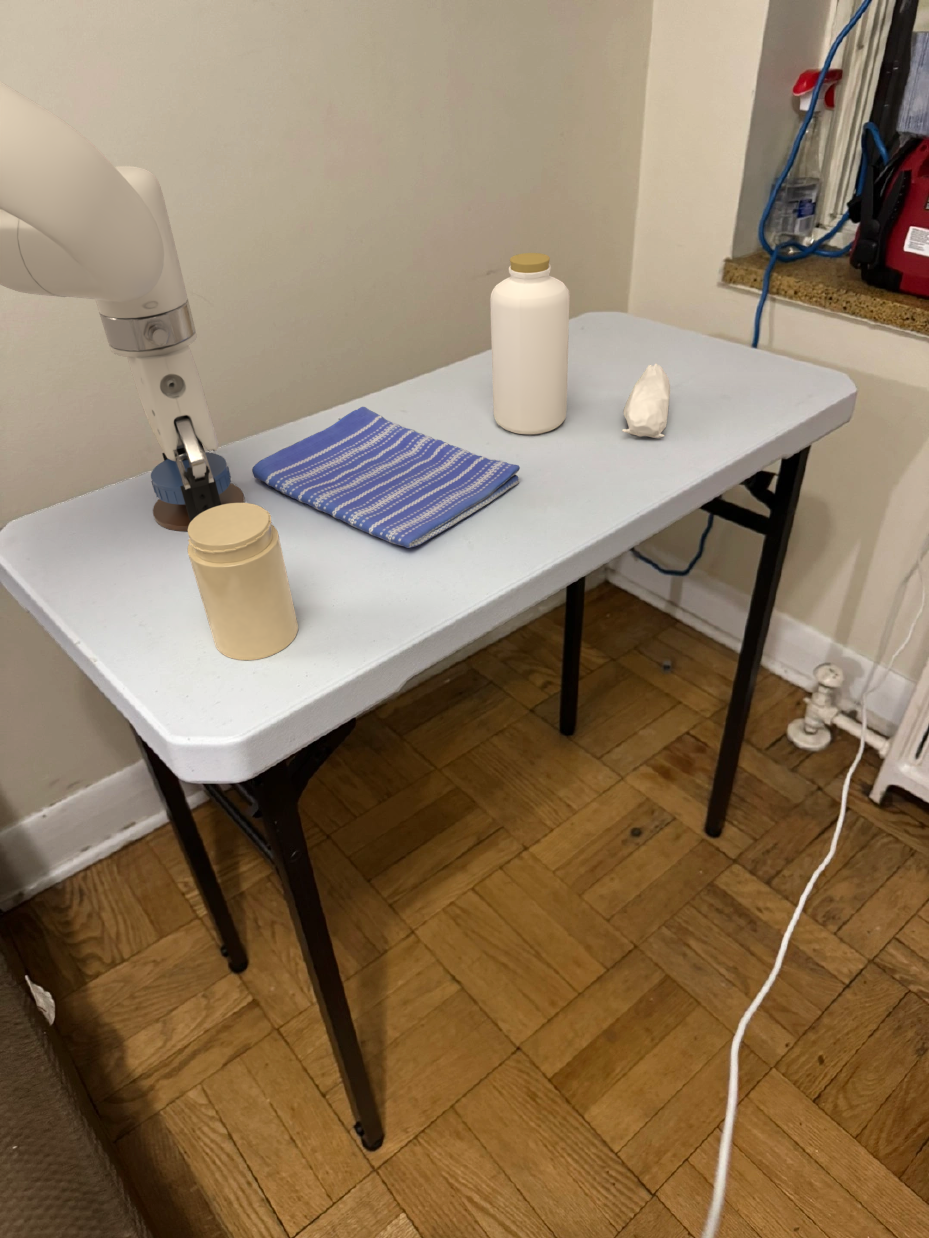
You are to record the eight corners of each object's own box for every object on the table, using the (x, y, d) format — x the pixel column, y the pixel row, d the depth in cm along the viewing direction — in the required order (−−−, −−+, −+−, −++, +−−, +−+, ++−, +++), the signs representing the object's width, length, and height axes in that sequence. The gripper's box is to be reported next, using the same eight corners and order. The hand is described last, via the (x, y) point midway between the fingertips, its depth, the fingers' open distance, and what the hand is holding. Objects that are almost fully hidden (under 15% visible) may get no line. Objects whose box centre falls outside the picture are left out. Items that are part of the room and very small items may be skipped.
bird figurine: (619, 416, 102) (619, 435, 93) (634, 358, 99) (636, 371, 90) (660, 425, 102) (664, 444, 93) (677, 367, 99) (683, 381, 90)
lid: (220, 461, 90) (216, 445, 89) (239, 492, 84) (235, 474, 83) (148, 480, 87) (143, 463, 86) (163, 512, 82) (158, 495, 81)
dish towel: (365, 424, 101) (362, 401, 99) (525, 482, 88) (525, 457, 86) (247, 482, 91) (242, 458, 89) (408, 558, 78) (405, 531, 77)
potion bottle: (519, 401, 104) (517, 243, 93) (579, 416, 100) (585, 253, 89) (479, 427, 99) (473, 264, 88) (541, 444, 95) (543, 275, 84)
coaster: (165, 541, 83) (163, 535, 82) (146, 500, 89) (144, 495, 89) (255, 514, 86) (254, 509, 85) (231, 477, 92) (230, 472, 92)
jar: (227, 671, 67) (194, 558, 61) (205, 624, 72) (172, 515, 66) (309, 642, 70) (286, 530, 63) (283, 599, 74) (259, 491, 68)
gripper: (217, 346, 71) (258, 530, 82) (170, 292, 84) (212, 458, 94) (124, 366, 69) (179, 553, 79) (90, 307, 81) (142, 476, 92)
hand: (197, 500), depth 87 cm, fingers closed on lid, 7 cm apart
